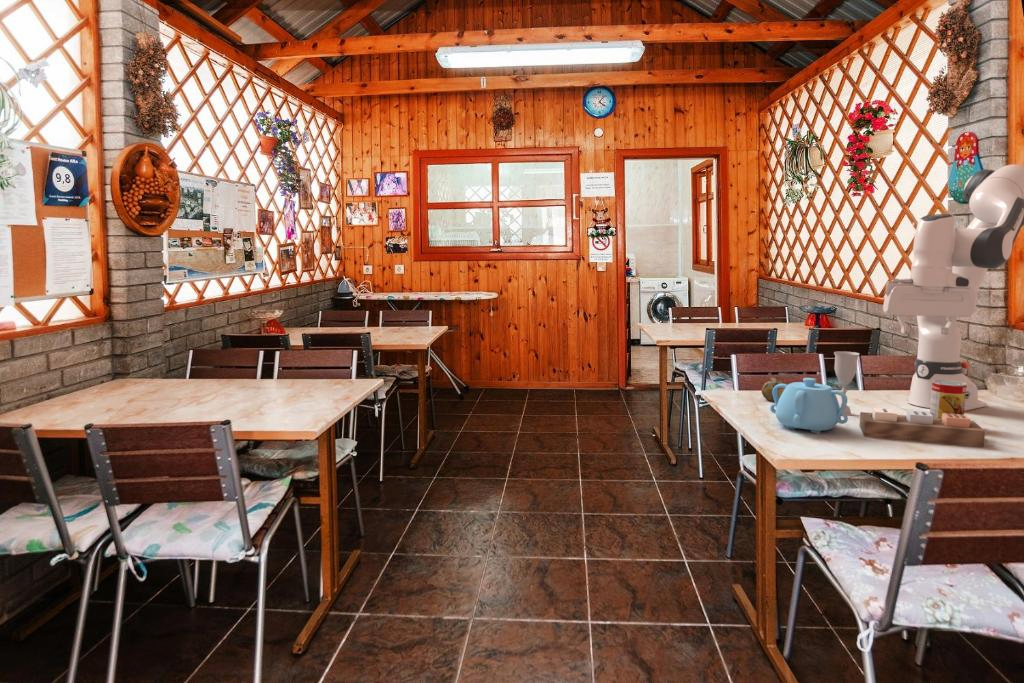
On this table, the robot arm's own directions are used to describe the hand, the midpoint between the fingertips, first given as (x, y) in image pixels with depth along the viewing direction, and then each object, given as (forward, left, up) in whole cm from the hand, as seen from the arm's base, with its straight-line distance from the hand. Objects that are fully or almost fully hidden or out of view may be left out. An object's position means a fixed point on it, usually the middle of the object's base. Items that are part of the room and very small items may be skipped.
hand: (925, 333), depth 170 cm
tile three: (-6, +6, -23) cm, 25 cm away
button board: (0, +1, -27) cm, 27 cm away
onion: (+6, -46, -27) cm, 54 cm away
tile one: (+7, -4, -23) cm, 25 cm away
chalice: (-1, -25, -27) cm, 37 cm away
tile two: (0, +1, -23) cm, 23 cm away
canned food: (-17, -5, -27) cm, 32 cm away
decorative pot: (+21, -15, -27) cm, 38 cm away
